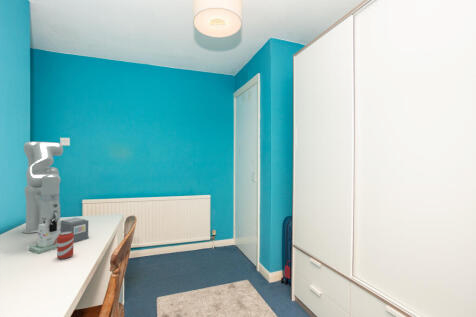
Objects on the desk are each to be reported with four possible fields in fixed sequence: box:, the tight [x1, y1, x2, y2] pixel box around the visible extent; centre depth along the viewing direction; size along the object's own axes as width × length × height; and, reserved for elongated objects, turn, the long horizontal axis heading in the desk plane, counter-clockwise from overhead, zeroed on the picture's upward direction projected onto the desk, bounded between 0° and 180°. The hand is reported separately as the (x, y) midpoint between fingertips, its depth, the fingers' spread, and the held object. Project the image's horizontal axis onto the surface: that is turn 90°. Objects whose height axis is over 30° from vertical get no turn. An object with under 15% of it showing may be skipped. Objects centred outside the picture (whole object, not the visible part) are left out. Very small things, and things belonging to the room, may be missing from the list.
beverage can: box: [56, 231, 75, 260], centre depth 111 cm, size 6×6×12 cm
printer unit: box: [60, 217, 89, 243], centre depth 136 cm, size 12×10×12 cm
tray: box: [28, 243, 57, 254], centre depth 123 cm, size 10×14×2 cm
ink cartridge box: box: [37, 217, 61, 247], centre depth 123 cm, size 9×5×15 cm, turn 168°
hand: (49, 230), depth 123 cm, fingers closed on ink cartridge box, 5 cm apart
